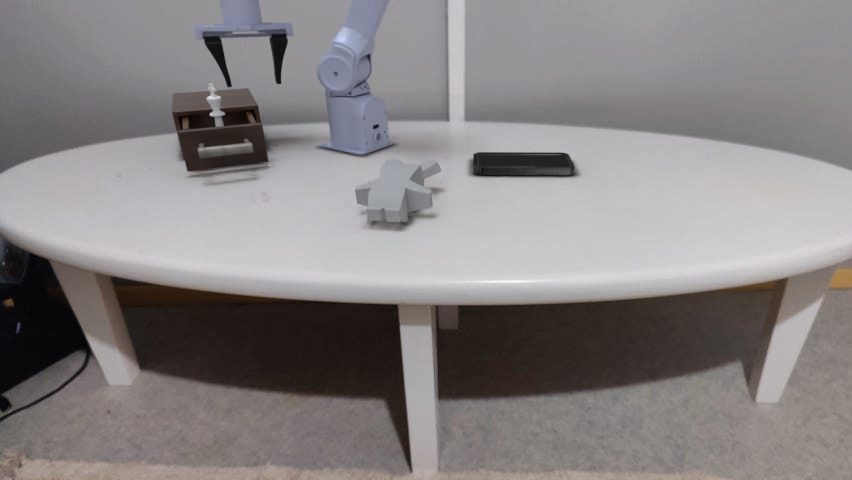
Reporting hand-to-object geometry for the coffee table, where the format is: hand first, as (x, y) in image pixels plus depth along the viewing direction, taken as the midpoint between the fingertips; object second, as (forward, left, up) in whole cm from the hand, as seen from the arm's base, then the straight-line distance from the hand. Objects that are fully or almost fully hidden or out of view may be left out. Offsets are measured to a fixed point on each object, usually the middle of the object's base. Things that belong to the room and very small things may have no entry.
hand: (254, 84), depth 93 cm
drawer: (-5, +11, -9) cm, 15 cm away
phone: (-44, -12, -10) cm, 47 cm away
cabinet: (+6, +4, -10) cm, 12 cm away
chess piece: (-5, +11, -8) cm, 14 cm away
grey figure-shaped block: (-38, +10, -10) cm, 41 cm away
